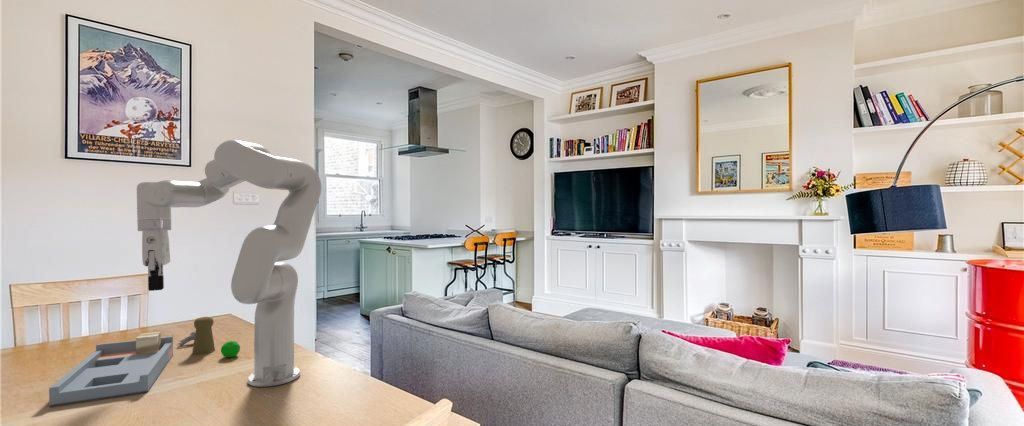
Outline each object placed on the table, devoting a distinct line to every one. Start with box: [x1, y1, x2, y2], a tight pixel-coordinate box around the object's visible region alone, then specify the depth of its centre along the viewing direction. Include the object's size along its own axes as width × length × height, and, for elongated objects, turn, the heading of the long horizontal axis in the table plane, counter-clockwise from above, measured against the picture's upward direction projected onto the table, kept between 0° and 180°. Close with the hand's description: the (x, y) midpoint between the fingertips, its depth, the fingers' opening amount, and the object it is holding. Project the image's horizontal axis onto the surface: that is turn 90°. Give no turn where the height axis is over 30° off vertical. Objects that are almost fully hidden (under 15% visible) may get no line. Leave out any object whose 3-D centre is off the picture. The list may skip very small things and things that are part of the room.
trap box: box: [48, 335, 174, 408], centre depth 121 cm, size 32×18×6 cm, turn 28°
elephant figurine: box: [177, 330, 196, 347], centre depth 152 cm, size 10×6×9 cm
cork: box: [192, 316, 216, 355], centre depth 143 cm, size 6×6×11 cm
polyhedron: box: [220, 340, 241, 359], centre depth 138 cm, size 5×5×5 cm
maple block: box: [135, 331, 162, 355], centre depth 134 cm, size 5×5×5 cm
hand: (156, 289), depth 127 cm, fingers closed
